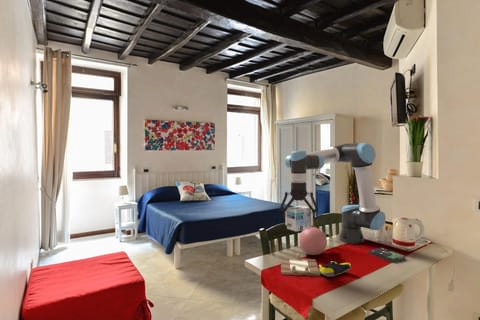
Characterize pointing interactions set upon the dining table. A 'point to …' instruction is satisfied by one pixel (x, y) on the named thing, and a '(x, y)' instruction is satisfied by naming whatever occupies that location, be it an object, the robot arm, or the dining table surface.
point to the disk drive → (387, 255)
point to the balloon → (313, 241)
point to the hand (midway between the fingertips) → (298, 224)
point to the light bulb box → (298, 218)
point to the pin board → (299, 266)
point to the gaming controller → (334, 269)
